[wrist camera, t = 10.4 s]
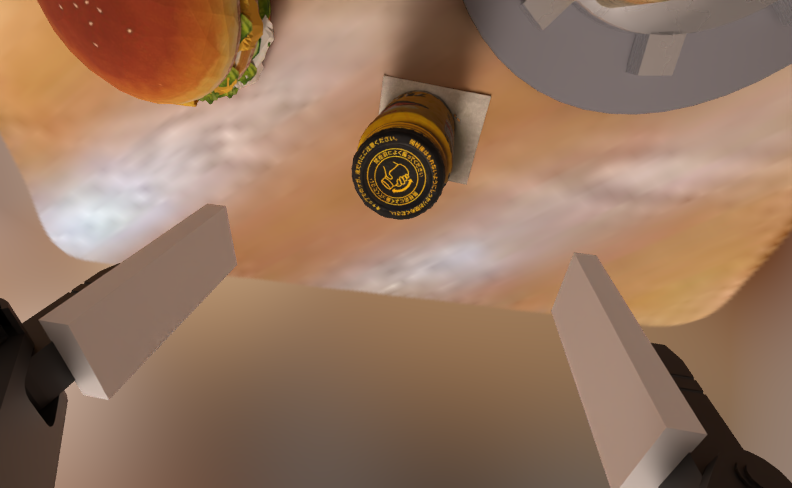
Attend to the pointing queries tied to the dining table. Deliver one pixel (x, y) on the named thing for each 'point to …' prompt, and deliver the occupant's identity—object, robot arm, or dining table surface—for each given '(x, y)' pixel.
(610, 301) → the robot arm
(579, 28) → the base
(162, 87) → the burger
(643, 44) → the grey disc with blocks
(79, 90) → the dining table surface
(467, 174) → the condiment
